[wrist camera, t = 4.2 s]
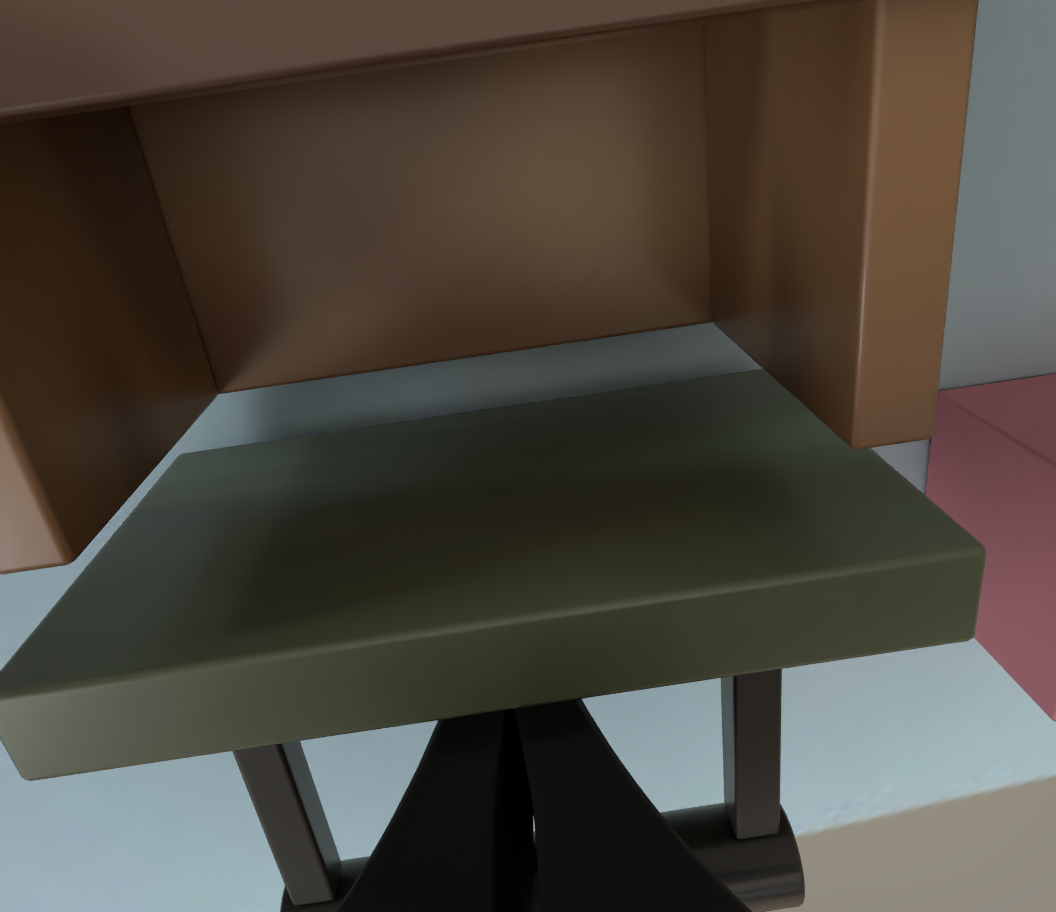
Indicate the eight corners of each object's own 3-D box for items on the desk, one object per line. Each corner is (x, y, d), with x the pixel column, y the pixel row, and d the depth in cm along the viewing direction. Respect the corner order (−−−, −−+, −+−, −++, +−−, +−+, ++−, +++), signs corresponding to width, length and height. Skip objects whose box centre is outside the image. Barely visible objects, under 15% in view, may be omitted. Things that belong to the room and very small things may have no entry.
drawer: (774, 650, 16) (934, 936, 10) (275, 724, 15) (172, 1053, 10) (786, -621, 8) (1364, -1945, 3) (-158, -493, 8) (-1342, -1620, 3)
